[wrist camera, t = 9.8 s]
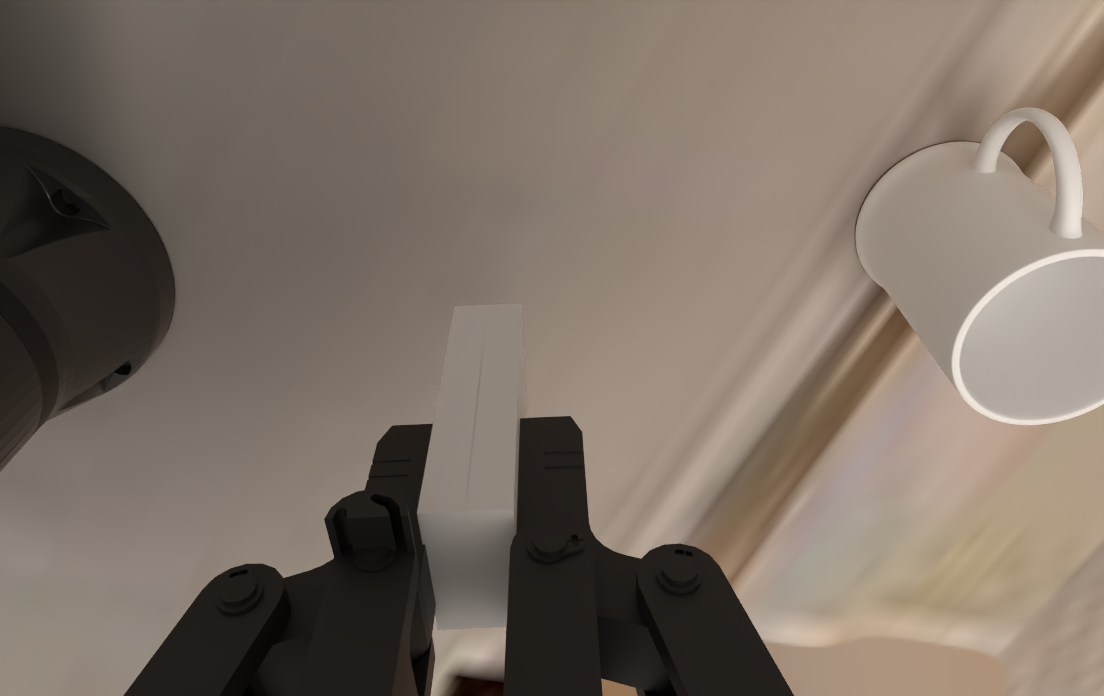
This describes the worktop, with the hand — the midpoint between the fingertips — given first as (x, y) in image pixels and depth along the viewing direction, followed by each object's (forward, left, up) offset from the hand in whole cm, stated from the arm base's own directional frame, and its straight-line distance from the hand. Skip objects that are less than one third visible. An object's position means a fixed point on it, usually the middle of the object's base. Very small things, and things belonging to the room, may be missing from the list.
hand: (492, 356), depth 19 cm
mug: (+21, -5, -24) cm, 32 cm away
